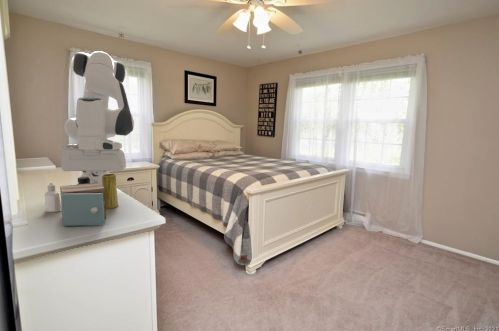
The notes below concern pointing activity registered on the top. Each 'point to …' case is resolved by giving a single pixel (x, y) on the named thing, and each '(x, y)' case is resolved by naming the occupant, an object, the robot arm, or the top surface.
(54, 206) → the eye dropper bottle
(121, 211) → the top surface
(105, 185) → the vase
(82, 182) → the supplement bottle
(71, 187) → the cabinet box
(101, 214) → the door
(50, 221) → the top surface
